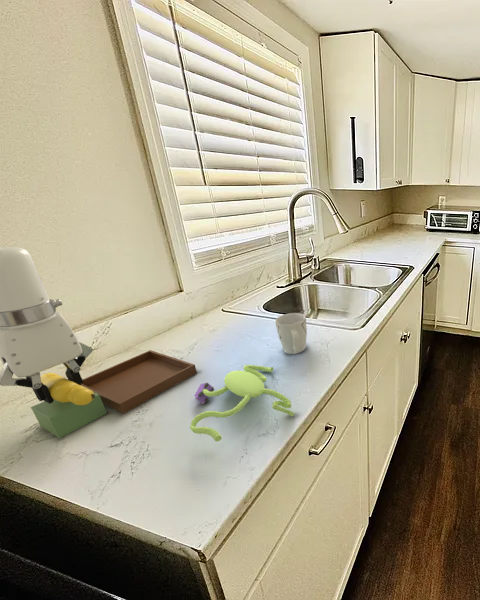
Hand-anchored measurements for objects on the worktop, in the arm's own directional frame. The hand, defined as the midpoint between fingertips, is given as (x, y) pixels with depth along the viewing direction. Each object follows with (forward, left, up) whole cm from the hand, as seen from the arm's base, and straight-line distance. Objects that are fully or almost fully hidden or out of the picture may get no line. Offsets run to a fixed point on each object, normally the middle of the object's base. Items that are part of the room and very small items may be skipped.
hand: (63, 393), depth 67 cm
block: (0, 0, -7) cm, 7 cm away
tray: (-2, +14, -7) cm, 16 cm away
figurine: (+30, +18, -7) cm, 36 cm away
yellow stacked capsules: (0, 0, -1) cm, 1 cm away
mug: (+24, +42, -7) cm, 49 cm away
